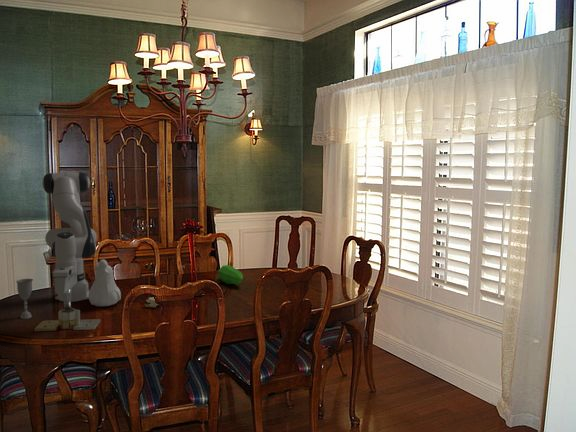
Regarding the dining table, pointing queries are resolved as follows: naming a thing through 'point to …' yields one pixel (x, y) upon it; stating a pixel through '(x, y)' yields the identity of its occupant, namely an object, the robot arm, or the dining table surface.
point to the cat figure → (150, 302)
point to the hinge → (68, 322)
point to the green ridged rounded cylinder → (230, 275)
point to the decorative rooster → (104, 286)
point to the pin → (68, 301)
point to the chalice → (25, 294)
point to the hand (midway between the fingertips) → (67, 298)
